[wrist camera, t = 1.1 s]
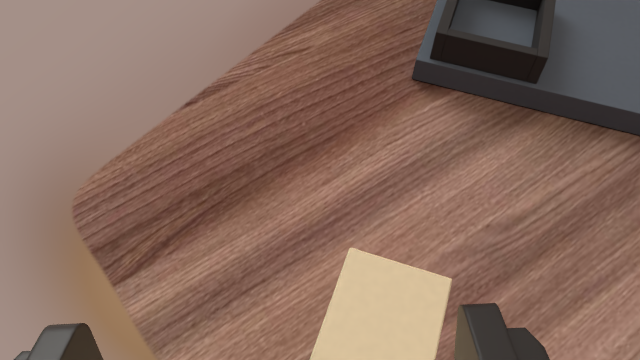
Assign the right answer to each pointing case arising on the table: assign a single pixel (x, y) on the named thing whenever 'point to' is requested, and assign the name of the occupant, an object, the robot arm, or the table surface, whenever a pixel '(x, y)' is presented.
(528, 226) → the table surface
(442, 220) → the table surface
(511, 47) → the dark gray square slab
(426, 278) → the tan rectangular block
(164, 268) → the table surface
